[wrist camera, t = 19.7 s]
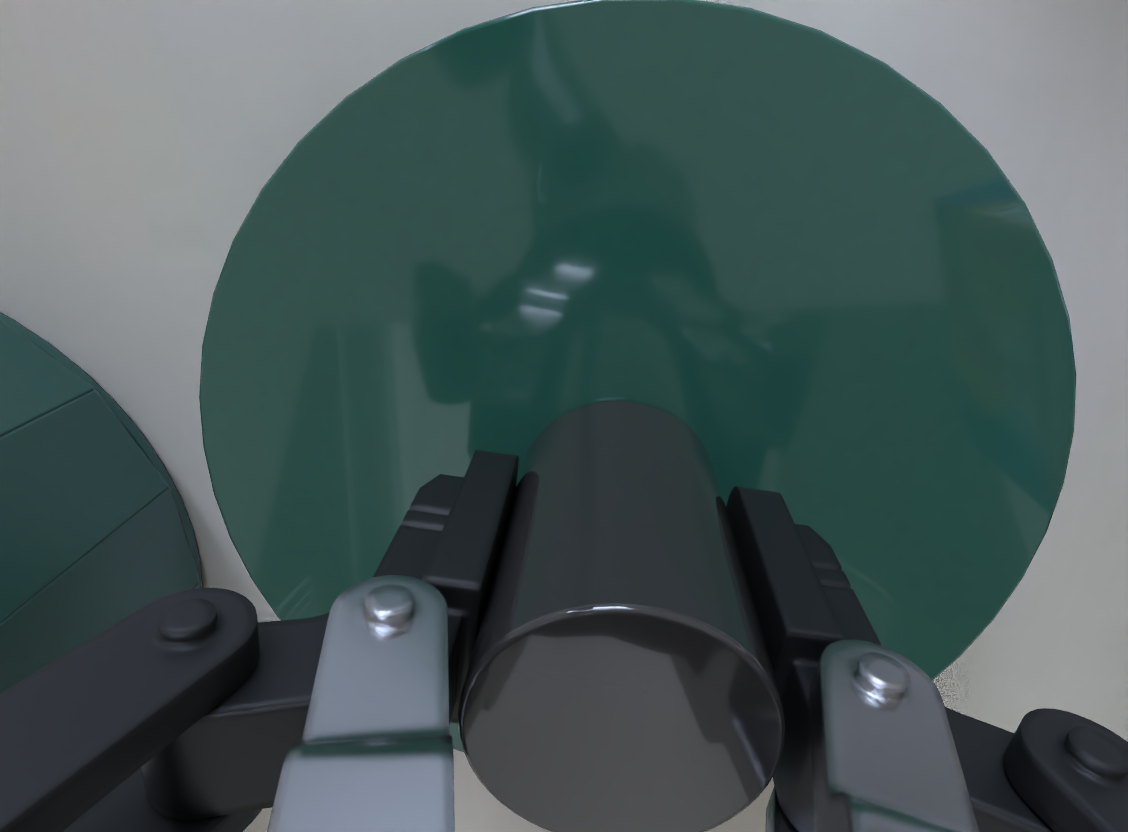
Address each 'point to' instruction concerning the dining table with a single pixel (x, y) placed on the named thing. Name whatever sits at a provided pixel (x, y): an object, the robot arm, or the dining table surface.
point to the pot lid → (642, 375)
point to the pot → (76, 510)
